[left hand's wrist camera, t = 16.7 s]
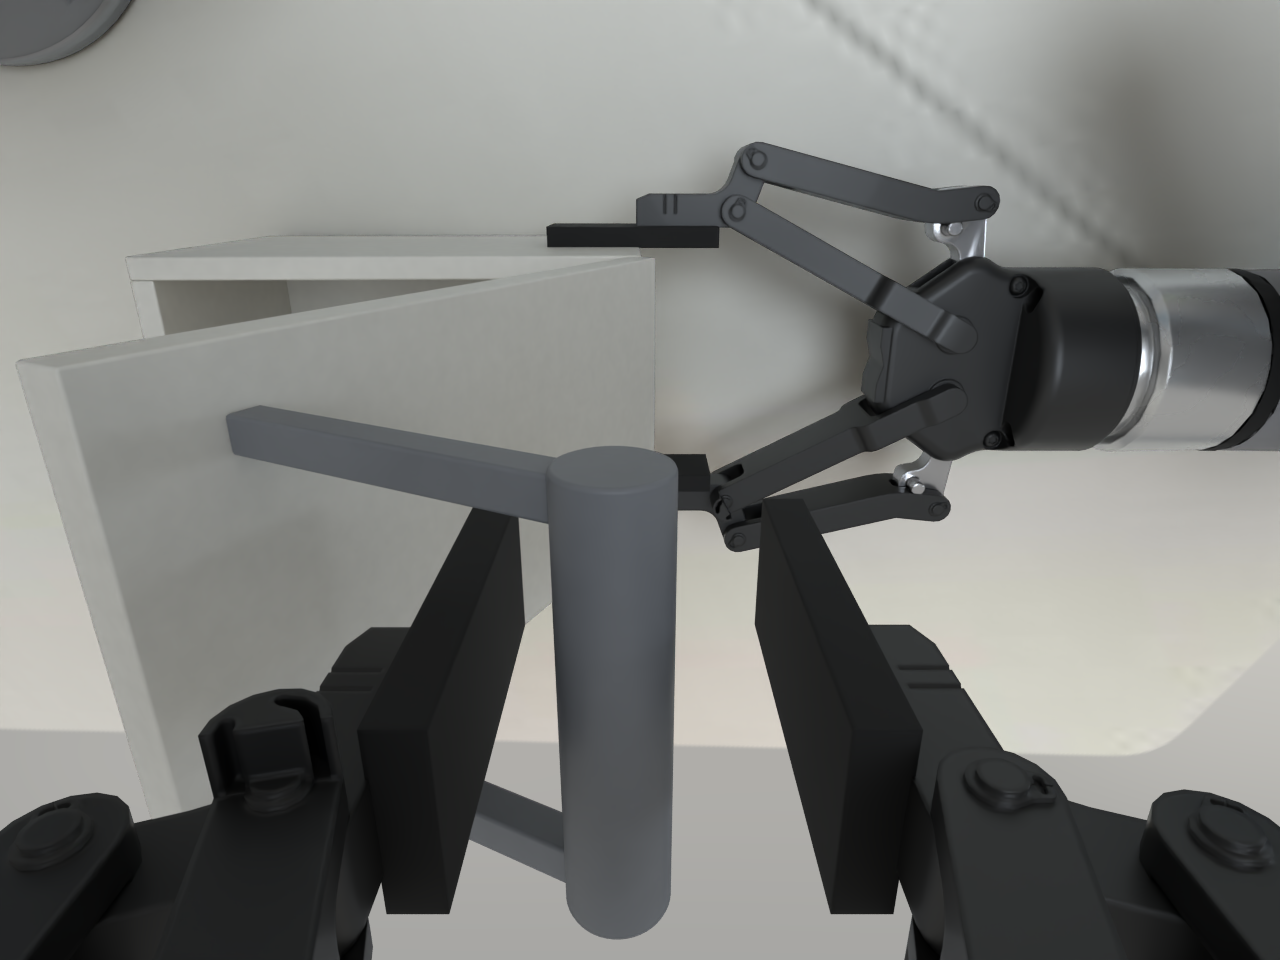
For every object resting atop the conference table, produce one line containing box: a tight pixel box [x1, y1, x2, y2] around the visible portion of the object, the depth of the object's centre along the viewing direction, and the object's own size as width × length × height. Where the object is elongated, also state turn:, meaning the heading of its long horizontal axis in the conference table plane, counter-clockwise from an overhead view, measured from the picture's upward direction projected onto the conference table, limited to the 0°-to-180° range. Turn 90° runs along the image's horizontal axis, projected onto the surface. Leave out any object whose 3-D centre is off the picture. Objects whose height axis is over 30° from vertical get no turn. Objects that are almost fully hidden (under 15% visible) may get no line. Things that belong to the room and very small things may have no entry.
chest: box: [125, 235, 642, 339], centre depth 32 cm, size 17×9×11 cm, turn 90°
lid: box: [16, 257, 678, 939], centre depth 18 cm, size 18×9×9 cm
